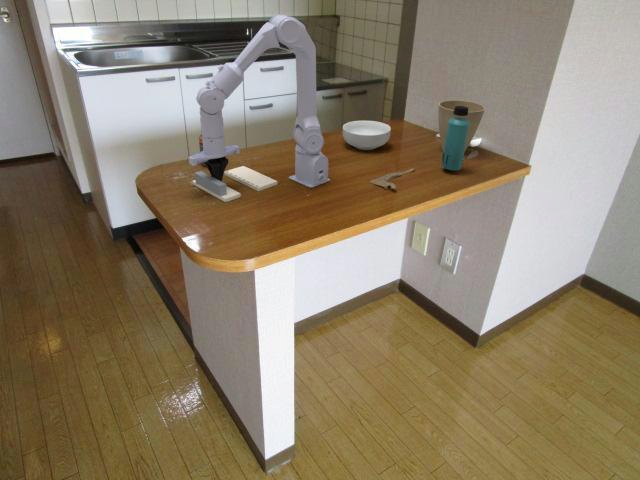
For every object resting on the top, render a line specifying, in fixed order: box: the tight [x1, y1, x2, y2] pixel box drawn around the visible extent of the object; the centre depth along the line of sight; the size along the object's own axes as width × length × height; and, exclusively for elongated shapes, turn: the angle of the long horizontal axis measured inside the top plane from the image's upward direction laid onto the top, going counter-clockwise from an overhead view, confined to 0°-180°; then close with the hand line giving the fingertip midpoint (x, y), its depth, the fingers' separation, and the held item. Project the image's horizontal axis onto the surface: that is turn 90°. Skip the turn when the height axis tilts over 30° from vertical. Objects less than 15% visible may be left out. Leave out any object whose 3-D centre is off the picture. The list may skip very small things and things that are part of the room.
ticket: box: [223, 165, 278, 192], centre depth 133 cm, size 16×7×1 cm, turn 45°
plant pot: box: [437, 99, 486, 153], centre depth 155 cm, size 15×15×16 cm
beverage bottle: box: [440, 106, 470, 171], centre depth 138 cm, size 6×7×20 cm
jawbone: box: [369, 167, 416, 191], centre depth 137 cm, size 9×20×2 cm, turn 154°
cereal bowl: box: [342, 120, 392, 151], centre depth 159 cm, size 17×17×7 cm
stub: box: [191, 170, 242, 203], centre depth 124 cm, size 16×5×4 cm, turn 45°
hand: (217, 183), depth 125 cm, fingers closed
